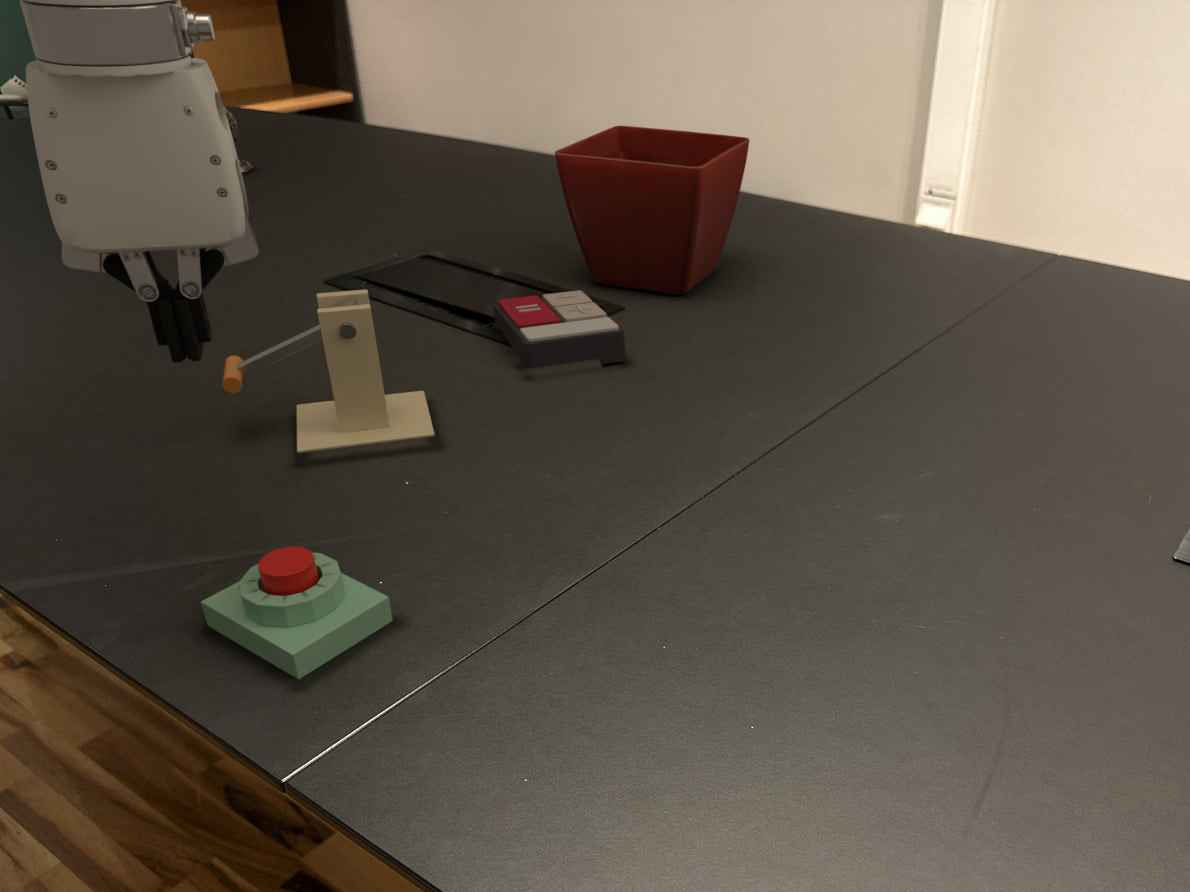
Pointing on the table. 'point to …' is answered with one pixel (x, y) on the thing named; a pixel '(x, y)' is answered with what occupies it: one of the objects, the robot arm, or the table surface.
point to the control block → (298, 617)
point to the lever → (269, 356)
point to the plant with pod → (233, 132)
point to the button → (288, 571)
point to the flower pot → (652, 203)
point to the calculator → (559, 329)
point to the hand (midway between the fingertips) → (188, 353)
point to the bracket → (356, 385)
